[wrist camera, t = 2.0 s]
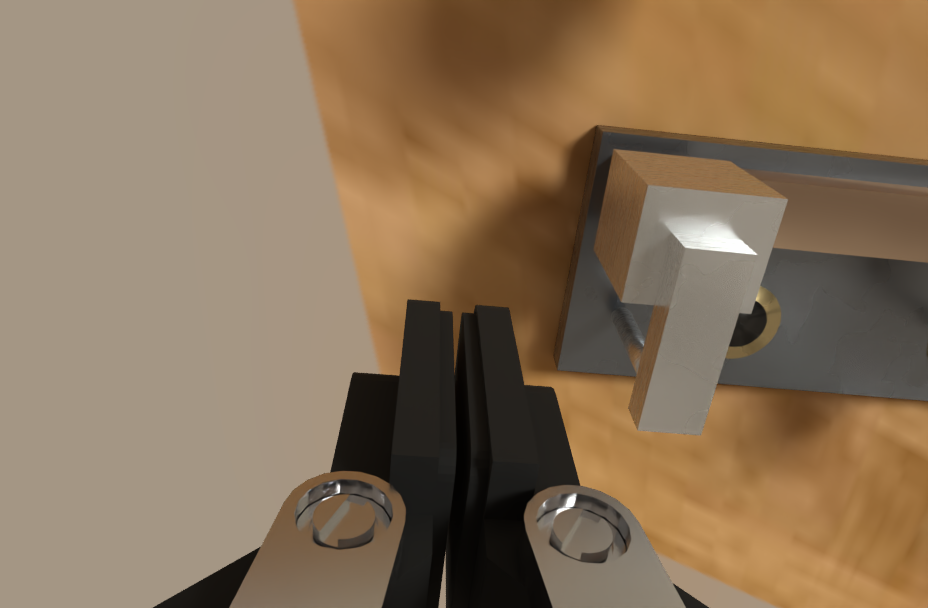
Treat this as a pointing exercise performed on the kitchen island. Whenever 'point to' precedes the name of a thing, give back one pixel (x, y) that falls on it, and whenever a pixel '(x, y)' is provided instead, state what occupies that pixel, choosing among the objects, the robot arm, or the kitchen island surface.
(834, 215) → the frame
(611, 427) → the kitchen island surface
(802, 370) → the bolt plate
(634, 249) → the sliding leg
